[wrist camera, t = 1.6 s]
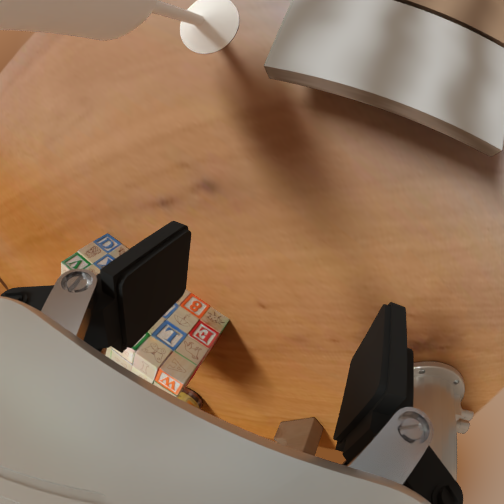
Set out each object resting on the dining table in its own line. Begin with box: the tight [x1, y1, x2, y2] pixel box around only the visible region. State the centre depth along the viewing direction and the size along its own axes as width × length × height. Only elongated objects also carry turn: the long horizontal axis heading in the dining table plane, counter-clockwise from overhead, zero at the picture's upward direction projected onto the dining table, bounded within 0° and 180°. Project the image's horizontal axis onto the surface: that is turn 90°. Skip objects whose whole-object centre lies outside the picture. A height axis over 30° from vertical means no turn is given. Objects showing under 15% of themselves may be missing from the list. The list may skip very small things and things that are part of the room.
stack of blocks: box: [61, 233, 230, 397], centre depth 38 cm, size 21×6×12 cm, turn 65°
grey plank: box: [264, 0, 504, 157], centre depth 18 cm, size 18×10×2 cm, turn 79°
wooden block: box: [274, 417, 323, 456], centre depth 39 cm, size 7×3×15 cm, turn 128°
